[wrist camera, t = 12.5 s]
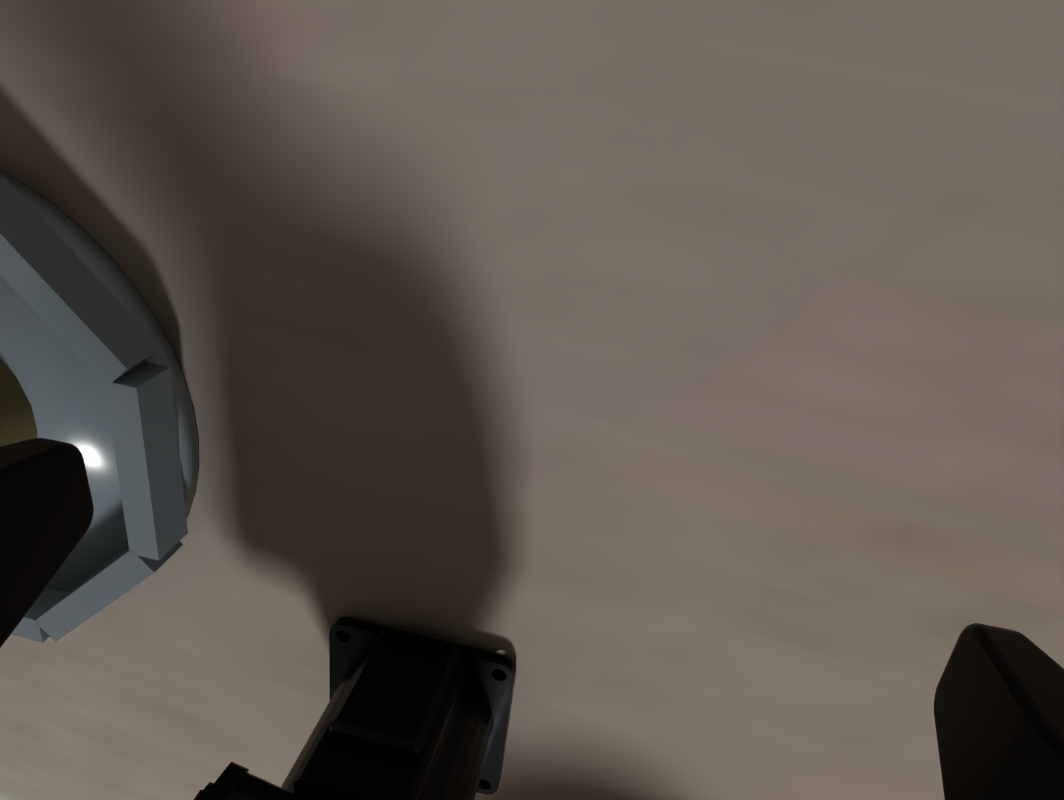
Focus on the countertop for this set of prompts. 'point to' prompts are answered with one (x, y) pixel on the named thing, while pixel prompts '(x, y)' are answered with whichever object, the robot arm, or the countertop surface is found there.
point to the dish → (95, 403)
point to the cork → (14, 410)
